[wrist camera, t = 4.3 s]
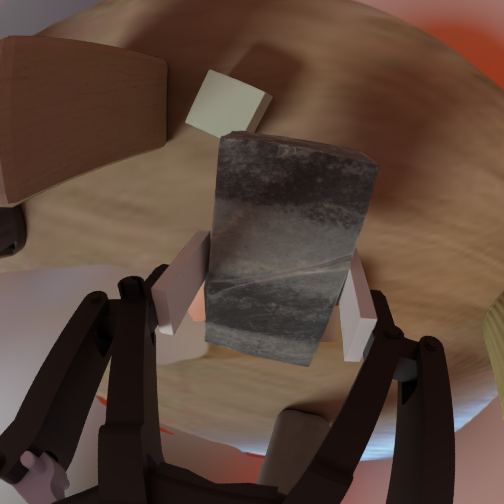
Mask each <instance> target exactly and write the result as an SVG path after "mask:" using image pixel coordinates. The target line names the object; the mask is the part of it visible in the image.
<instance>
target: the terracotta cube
mask: <svg viewBox="0 0 504 504" xmlns="http://www.w3.org/2000/svg"><path fill="white" fill-rule="evenodd" d="M204 284H205V281H204V282H203V284H202V286H201V288H200V289H199V291H198V293H197V295H196V296H195V298H194V300H193V302H192V304H191V305H190V307H189V309H188V312H189V314H190V316H191V317H192V319H193V320H194V322H197V321H202V320H206V318H205V301H204Z"/></svg>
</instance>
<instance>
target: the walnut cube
mask: <svg viewBox="0 0 504 504" xmlns="http://www.w3.org/2000/svg"><path fill="white" fill-rule="evenodd" d="M339 316H340V309H339V301H338V299H337V302H336V305H335V307H334V309H333V312H332V314H331V316H330V319H329V322H328V324H327V326H326V329H325V331H324V334H323V337H322V339H321V341H320V342H338V330H339Z"/></svg>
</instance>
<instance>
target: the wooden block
mask: <svg viewBox="0 0 504 504" xmlns="http://www.w3.org/2000/svg"><path fill="white" fill-rule="evenodd" d="M167 73H168V65H167V62H166V60H165V59H162V58H158V57H155V56H151V55H147V54H143V53H140V52H136V51H131V50H127V49H123V48H118V47H113V46H108V45H103V44H98V43H92V42H86V41H79V40H71V39H63V38H53V37H40V36H8V37H5V38H3V39H1V40H0V207H14V206H16V205H18V204H20V203H22V202H24V201H26V200H28V199H30V198H32V197H34V196H36V195H38V194H40V193H42V192H45V191H47V190H49V189H51V188H53V187H56V186H58V185H60V184H62V183H65V182H67V181H69V180H72V179H74V178H77V177H79V176H82V175H84V174H87V173H89V172H92V171H94V170H97V169H100V168H102V167H105V166H108V165H111V164H114V163H116V162H119V161H122V160H125V159H128V158H131V157H134V156H137V155H140V154H144V153H147V152H150V151H153V150H157V149H159V148H161V147H163V146H164V145H165V143H166V139H167V127H166V116H167Z"/></svg>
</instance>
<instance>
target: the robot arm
mask: <svg viewBox="0 0 504 504" xmlns="http://www.w3.org/2000/svg"><path fill="white" fill-rule="evenodd" d="M25 239H26V230H25V223H24V218H23V214H22V210H21V207H20V204H18V205H16V206H14V207H0V259H1V258H5V257H9V256H13V255H15V254H16V253H18V252H19V251H20V250H22V249H23V247H24V245H25ZM210 247H211V241H210V231H203V230H199V231H198V232H197V233H196V234H195V235H194V236H193V238H192V239H191V240H190V241H189V242H188V244H187V245H186V246H185V247H184V248H183V250H182V251H181V252H180V253H179V254H178V256H177V257H176V258H175V259H174V260H173V262H172V263H171V264H170V265H167V264H162V265H160V266H159V267H157V268H155V270H154V271H153V272H152V274H150V275H149V277H148V278H147V279H146V280H145V281H144V280H143V279H142V278H141V277H138V276H129V277H126V278H123V279H122V280H120V281H119V283H118V288H119V292H120V296H121V299H108V297H107V294H106V293H105V292H102V291H94V292H92V293H90V294H88V295H87V296H86V297H85V298H84V299H83V301H82V302H81V304H80V305H79V307H78V308H77V310H76V311H75V313H74V314H73V316H72V317H71V319H70V320H69V322H68V323H67V325H66V327H65V328H64V330H63V331H62V333H61V334H60V336H59V338H58V339H57V341H56V342H55V344H54V346H53V347H52V349H51V351H50V352H49V354H48V356H47V358H46V360H45V361H44V363H43V365H42V366H41V368H40V370H39V372H38V374H37V375H36V377H35V379H34V381H33V383H32V385H31V387H30V389H29V391H28V393H27V395H26V397H25V399H24V401H23V403H22V405H21V407H20V409H19V411H18V413H17V415H16V418H15V420H14V421H13V422H12V423H11V424H10V426H8V428H7V429H6V430H5V431H4V432H3V433H2V434H1V436H0V479H2V480H4V481H5V482H7V483H8V484H10V485H12V486H13V487H14V488H15V489H16V490H17V492H18V493H19V494H20V495H21V496H22V497H23V498H24V499H25V500H26V502H27V503H28V504H340V503H341V501H342V500H343V498H344V496H345V494H346V493H347V491H348V489H349V487H350V485H351V483H352V481H353V473H354V470H355V469H356V467H357V464H358V463H359V461H360V459H361V456H362V454H363V452H364V450H365V448H366V446H367V444H368V441H369V439H370V437H371V435H372V432H373V430H374V427H375V425H376V423H377V420H378V418H379V415H380V413H381V410H382V407H383V405H384V402H385V399H386V396H387V394H388V391H389V388H390V385H391V382H392V379H394V380H397V381H398V402H397V422H396V435H395V446H394V455H393V464H392V471H391V478H390V484H389V489H388V495H387V500H386V504H453V497H454V481H455V436H454V418H453V407H452V398H451V390H450V382H449V376H448V369H447V363H446V358H445V353H444V347H443V345H442V343H441V342H440V341H439V340H438V339H436V338H435V337H432V336H424V337H422V338H421V339H420V341H419V342H417V341H413V340H410V339H407V338H405V337H404V333H403V332H402V330H401V329H400V328H399V327H397V326H395V324H394V321H393V318H392V315H391V312H390V309H389V306H388V304H387V300H386V297H385V296H384V295H383V293H382V292H381V291H378V290H369V287H368V283H367V280H366V277H365V274H364V270H363V267H362V264H361V261H360V258H359V255H358V252H357V249H356V248H355V250H354V253H353V260H352V264H351V267H350V269H349V270H348V273H347V276H346V278H345V281H344V284H343V286H342V289H341V292H340V294H339V297H338V301H339V309H340V318H341V328H342V338H343V349H344V361H353V362H360V360H361V357H362V355H363V357H364V362H363V364H362V366H361V368H360V370H359V372H358V375H357V377H356V379H355V381H354V383H353V385H352V387H351V390H350V392H349V394H348V396H347V397H346V399H345V401H344V403H343V405H342V407H341V409H340V411H339V413H338V415H337V416H336V418H335V420H334V422H333V424H332V425H331V427H330V429H329V431H328V432H327V434H326V436H325V437H324V439H323V441H322V442H321V444H320V446H319V447H318V449H317V451H316V452H315V454H314V455H313V457H312V458H311V460H310V462H309V463H308V465H307V466H306V468H305V469H304V471H303V472H302V474H301V475H300V476H299V478H298V479H297V481H296V482H295V483H294V485H293V486H292V487H291V489H290V490H289V491H288V493H287V494H283V493H281V492H278V487H277V486H268V485H260V484H253V483H231V484H217V483H213V482H211V481H209V480H207V479H205V478H203V477H201V476H199V475H197V474H195V473H193V472H191V471H190V470H187V469H184V468H181V467H177V466H174V465H171V464H167V463H165V461H164V457H163V454H162V447H161V438H160V427H159V414H158V398H157V375H156V334H155V329H156V327H157V325H159V330H160V333H164V334H169V335H173V336H174V334H175V332H176V330H177V328H178V327H179V325H180V323H181V321H182V319H183V318H184V316H185V314H186V312H187V311H188V309H189V307H190V305H191V304H192V302H193V300H194V298H195V296H196V295H197V293H198V291H199V289H200V288H201V286H202V284H203V282H204V281H205V279H206V277H207V275H208V274H209V262H210ZM111 355H112V358H111ZM110 358H111V365H110V374H109V384H108V395H107V409H106V422H105V425H102V426H101V427H100V428H99V434H98V485H97V486H95V487H92V488H90V489H87V490H85V491H83V492H80V493H77V494H75V495H72V496H69V497H67V498H65V495H64V490H66V489H68V487H69V484H70V483H69V480H68V479H67V474H66V471H67V469H68V467H69V465H70V463H71V461H72V459H73V457H74V454H75V451H76V448H77V445H78V442H79V439H80V436H81V433H82V430H83V427H84V424H85V421H86V418H87V416H88V413H89V410H90V408H91V405H92V402H93V400H94V397H95V394H96V392H97V389H98V387H99V384H100V382H101V379H102V377H103V374H104V372H105V370H106V367H107V365H108V362H109V360H110Z"/></svg>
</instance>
